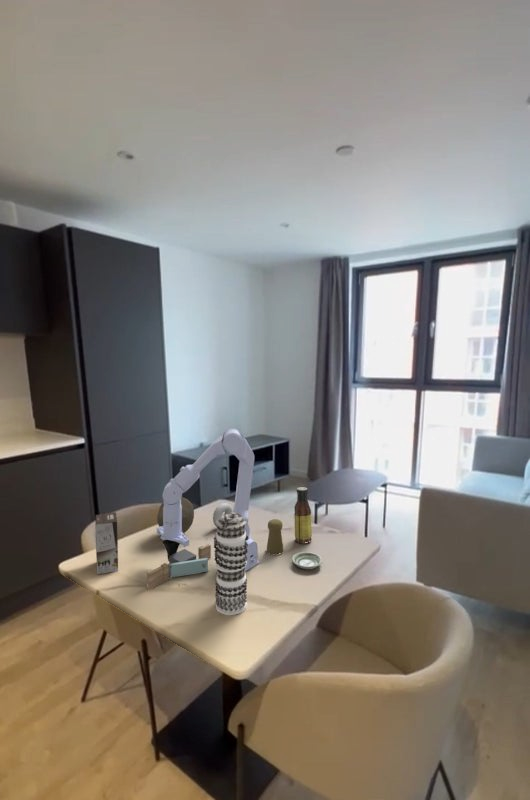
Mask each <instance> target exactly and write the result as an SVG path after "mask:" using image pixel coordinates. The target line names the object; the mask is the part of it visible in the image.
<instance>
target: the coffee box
mask: <svg viewBox="0 0 530 800" xmlns="http://www.w3.org/2000/svg"><path fill="white" fill-rule="evenodd" d="M94 525H95V526H94V527H95V553H96V574H97V575H100V574H99V573H102V574H106V572H108V573H115V572H117V571H119V543H118V541H119V540H118V536H119V535H118V517H117V512H116V511H114V512H105V513H101V514H95V524H94Z"/></svg>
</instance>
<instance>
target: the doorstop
mask: <svg viewBox="0 0 530 800" xmlns="http://www.w3.org/2000/svg"><path fill="white" fill-rule="evenodd" d="M191 560H197V555H196V554H195V553H193V552H192V551H189V550H188V549H186V548H183V549H181V550H179V551H177V552H176V553H174V554H172V555H170V558H169V561H168V562H169V563H168V564H171V563H178V562H184V561H191Z"/></svg>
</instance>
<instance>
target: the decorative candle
mask: <svg viewBox="0 0 530 800" xmlns="http://www.w3.org/2000/svg"><path fill="white" fill-rule="evenodd" d="M246 522H247V521H246V519H244V518H243V517H242V516H241V515H240V514H238V513H225V512H224V514H222V516H221V517H220V518H219V519H217V521H216V524H217V527H216V532H215V535H214V537H213V548H214V561H215V565H214V566H215V568H216V580H215V584H214V585H215V594H214V596H215V603H214V604H215V610H217V612H218V613H219V614H222V615H224V616H235V615H238V614H241V613H242V612H243V613H244V611H245V610H246V609H247V606H248V603H247V596H248V595H247V593H248V592H247V590H248V589H247V586H248V585H247V584H248V583H247V581H248V579H247V577H246V575H247V574H246V571H245V567H246V565H247V562H246V560H247V555H245V554H246V553H247V552H248V549H247V547H248V544H247V542H245V540H248V535H246V532H245V523H246ZM245 538H246V539H245Z"/></svg>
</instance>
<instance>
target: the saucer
mask: <svg viewBox="0 0 530 800" xmlns="http://www.w3.org/2000/svg"><path fill="white" fill-rule="evenodd" d="M291 561H292V562H293V564H294V565H295V566H297V567H298V568H300V569H303V570H313V569H316V568H317V567H319V566H321V564H322V562H323V559H322V557H321V556H320V555H319V554H317V553H314V552H311V551H309V552H308V551H301V552H298V553H295V554H293V556H292V558H291Z"/></svg>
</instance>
